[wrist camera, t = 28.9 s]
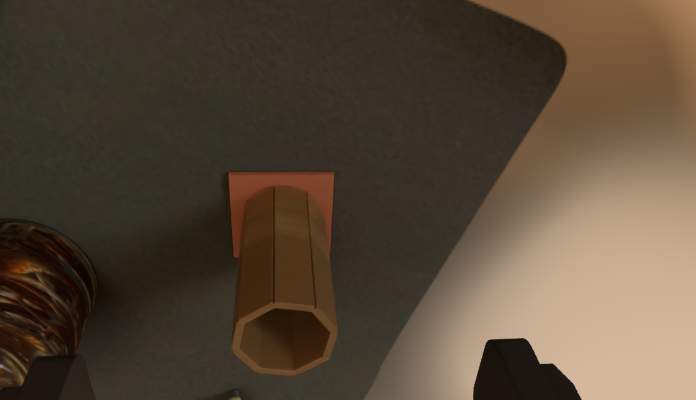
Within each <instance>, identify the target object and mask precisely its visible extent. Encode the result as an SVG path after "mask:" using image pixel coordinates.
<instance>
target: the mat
mask: <svg viewBox="0 0 696 400" xmlns="http://www.w3.org/2000/svg"><path fill="white" fill-rule="evenodd" d="M228 176H229V192H230V207H231V222H232V237H233V252H234V258H236V257H239V249H240V237H241V226H242V221H243V215H244V210H245V205H246V203H247V201H248V200H250V199H251V198H252V197H254V196H255V195H256V194H257V193H259V192H260V191H262V190H264V189H267V188H270V187H272V186H273V187H274V186H291V187H296V188H299V189H301V190H305V191H306V192H308V193H309V194H310V195H311V196H312V197H313V198H314V199H315V200H316V202H317V203H318V205H319V207H320V208H321V210H322V211H323V213H324V220H325V228H326V236H327V244H328V252H329V255H330V243H331V224H332V205H333V186H334V172H229V175H228Z"/></svg>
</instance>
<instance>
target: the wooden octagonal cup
mask: <svg viewBox="0 0 696 400" xmlns="http://www.w3.org/2000/svg"><path fill="white" fill-rule="evenodd" d="M337 335H338V325H337V317H336V309H335V301H334V293H333V285H332V277H331V268H330V260H329V252H328V244H327V236H326V228H325V220H324V213H323V211H322V210H321V208H320V207H319V205H318V203H317V202H316V200H315V199H314V198H313V197H312V196H311V195H310V194H309V193H308V192H306V191H305V190H301V189H299V188H296V187H291V186H274V187H273V186H272V187H270V188H267V189H264V190H262V191H260V192H259V193H257V194H256V195H255V196H254V197H252V198H251V199H250V200H248V201H247V203H246V205H245V210H244V215H243V221H242V226H241V237H240V249H239V261H238V272H237V284H236V296H235V307H234V319H233V331H232V343H231V350H232V352H233V353H234V354H235V355H236V356H238V357H239V358H240V359H241V360H242V361H243V362H244V363H245V364H246V365H248V366H249V367H250V368H251V369H252V370H253V371H254V372H256V371H257V373H265V374H277V375H289V376H294V374H296V375H298V374H300V373H303V372H305V371H307V370H309V369H311V368H313V367H315V366H317V365H319V364H321V363H323V362H325V361H327V360H328V358H330V355H331V352H332V349H333V347H334V344H335V341H336V338H337Z"/></svg>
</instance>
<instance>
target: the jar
mask: <svg viewBox="0 0 696 400" xmlns="http://www.w3.org/2000/svg"><path fill="white" fill-rule="evenodd" d="M96 294H97V278H96V274H95V271H94V269H93V266H92V264H91V263H90V261H89V259H88V258H87V256H86V255H85V254H84V253H83V252H82V251H81V249H80V248H79V247H78V246H76V245H75V244H74V243H73V242H72V241H70V240H69V239H68V238H66V237H65V236H63V235H61V234H60V233H58V232H56V231H54V230H52V229H50V228H47V227H45V226H42V225H39V224H36V223H32V222H28V221H23V220H14V219H0V391H1V390H2V389H3V388H4V387H17V386H22V384H23V381H24V379H25V377H26V375H27V373H28V370H29V368H30V366H31V364H32V362H33V361H34V359H35V358H37V357H38V356H55V355H75V353H76V351H77V348H78V345H79V343H80V340H81V337H82V335H83V332H84V329H85V327H86V324H87V321H88V319H89V316H90V313H91V310H92V308H93V305H94V302H95V298H96Z"/></svg>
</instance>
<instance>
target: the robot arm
mask: <svg viewBox="0 0 696 400" xmlns="http://www.w3.org/2000/svg"><path fill="white" fill-rule="evenodd" d="M0 400H96V399H95V396H94V392H93V389H92V386H91V382H90V379H89V375H88V372H87V368H86V365H85V361H84V358H83V357H82V356H81V355H55V356H38V357H37V358H35V359H34V361H33V362H32V364H31V366H30V368H29V370H28V373H27V375H26V377H25V379H24V381H23V384H22V386H17V387H4V388H3V389H2V390H1V391H0ZM473 400H581V398H580V396H579V394H578V392H577V390H576V388H575V386H574V384H573V383H572V382H571V381H570V380H569V379H568V378H567V377H566V376H565V375H564V374H563V373H562V372H561V371H560V370H558V368H557V367H556V366H555V365H554V364H540V363H539V361H538V359H537V357H536V355H535V353H534V351H533V349H532V347H531V345H530V344H529V342H528V341H527V340H526V339H524V338H519V339H492V340H488V341H487V343H486V345H485V349H484V352H483V356H482V359H481V363H480V366H479V370H478V374H477V378H476V381H475V385H474V391H473Z"/></svg>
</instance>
